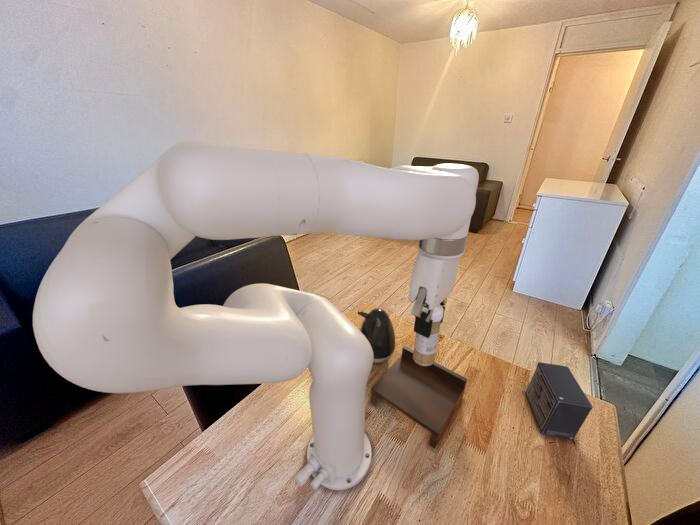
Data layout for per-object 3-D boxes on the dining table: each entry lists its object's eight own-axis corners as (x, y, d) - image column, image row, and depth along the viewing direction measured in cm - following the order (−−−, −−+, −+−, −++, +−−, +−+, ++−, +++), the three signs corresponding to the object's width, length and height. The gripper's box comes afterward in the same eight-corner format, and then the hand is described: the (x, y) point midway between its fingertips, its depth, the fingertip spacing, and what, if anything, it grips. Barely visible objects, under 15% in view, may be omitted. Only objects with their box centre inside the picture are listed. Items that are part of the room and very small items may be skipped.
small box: (576, 442, 58) (596, 408, 53) (541, 435, 59) (557, 402, 54) (553, 397, 67) (569, 365, 62) (523, 392, 68) (536, 360, 64)
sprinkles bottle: (430, 351, 62) (439, 299, 56) (437, 367, 58) (447, 314, 52) (409, 351, 62) (416, 300, 56) (414, 367, 58) (422, 314, 52)
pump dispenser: (360, 339, 85) (361, 297, 78) (395, 344, 83) (399, 301, 76) (353, 365, 76) (354, 320, 69) (392, 371, 74) (397, 325, 67)
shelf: (435, 449, 57) (440, 425, 53) (370, 402, 66) (371, 380, 63) (461, 401, 66) (467, 378, 63) (402, 367, 75) (404, 345, 72)
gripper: (442, 224, 56) (430, 301, 64) (395, 251, 44) (388, 341, 52) (481, 233, 51) (463, 314, 60) (441, 266, 40) (425, 361, 48)
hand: (428, 326), depth 56 cm, fingers closed on sprinkles bottle, 4 cm apart
